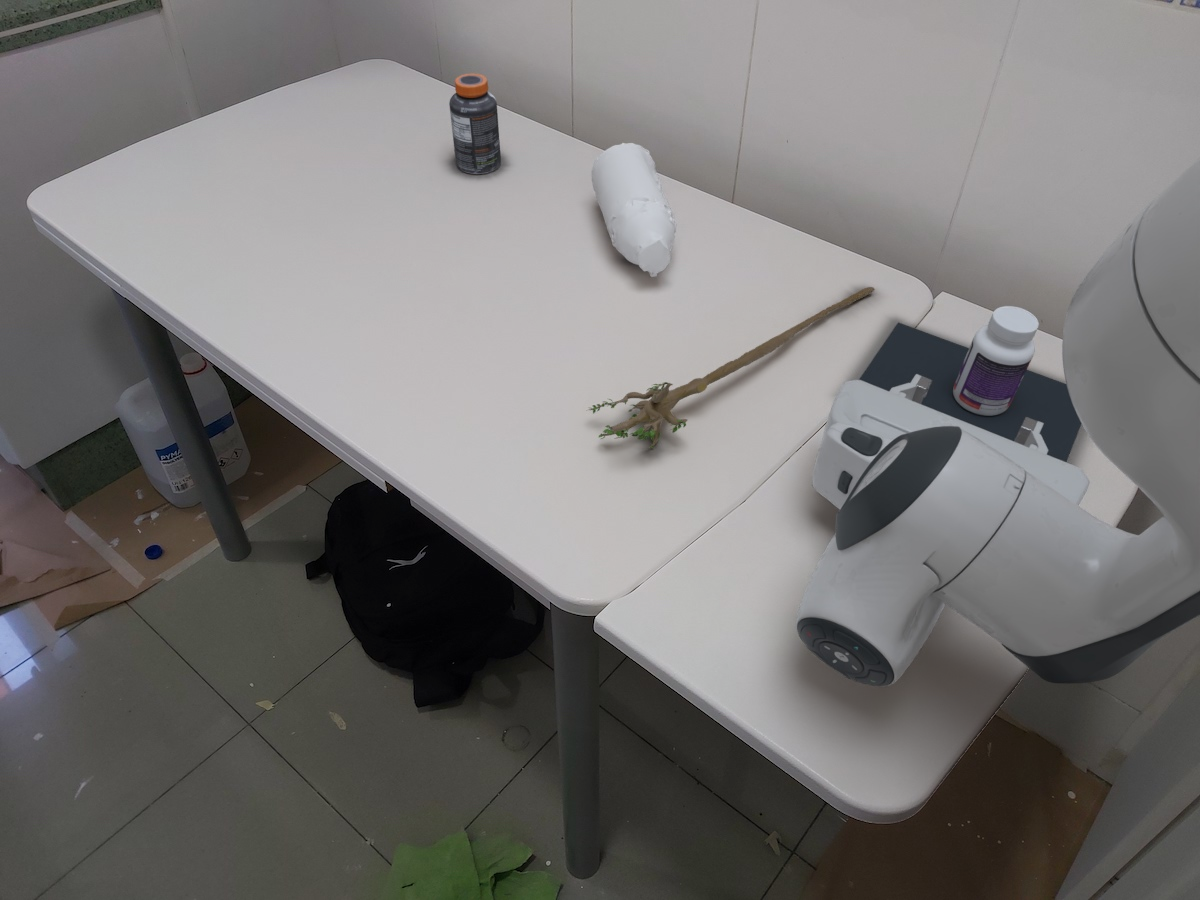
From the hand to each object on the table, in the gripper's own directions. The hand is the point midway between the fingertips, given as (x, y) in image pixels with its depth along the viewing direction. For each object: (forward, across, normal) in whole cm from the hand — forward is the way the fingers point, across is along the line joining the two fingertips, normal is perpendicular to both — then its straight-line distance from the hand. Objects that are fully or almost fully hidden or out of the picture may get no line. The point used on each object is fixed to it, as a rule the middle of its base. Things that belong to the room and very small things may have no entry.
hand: (975, 403), depth 75 cm
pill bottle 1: (+18, +69, +7) cm, 72 cm away
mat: (+10, +1, +7) cm, 12 cm away
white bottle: (+15, +42, +7) cm, 45 cm away
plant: (+1, +20, +7) cm, 21 cm away
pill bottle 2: (+10, 0, +7) cm, 12 cm away
